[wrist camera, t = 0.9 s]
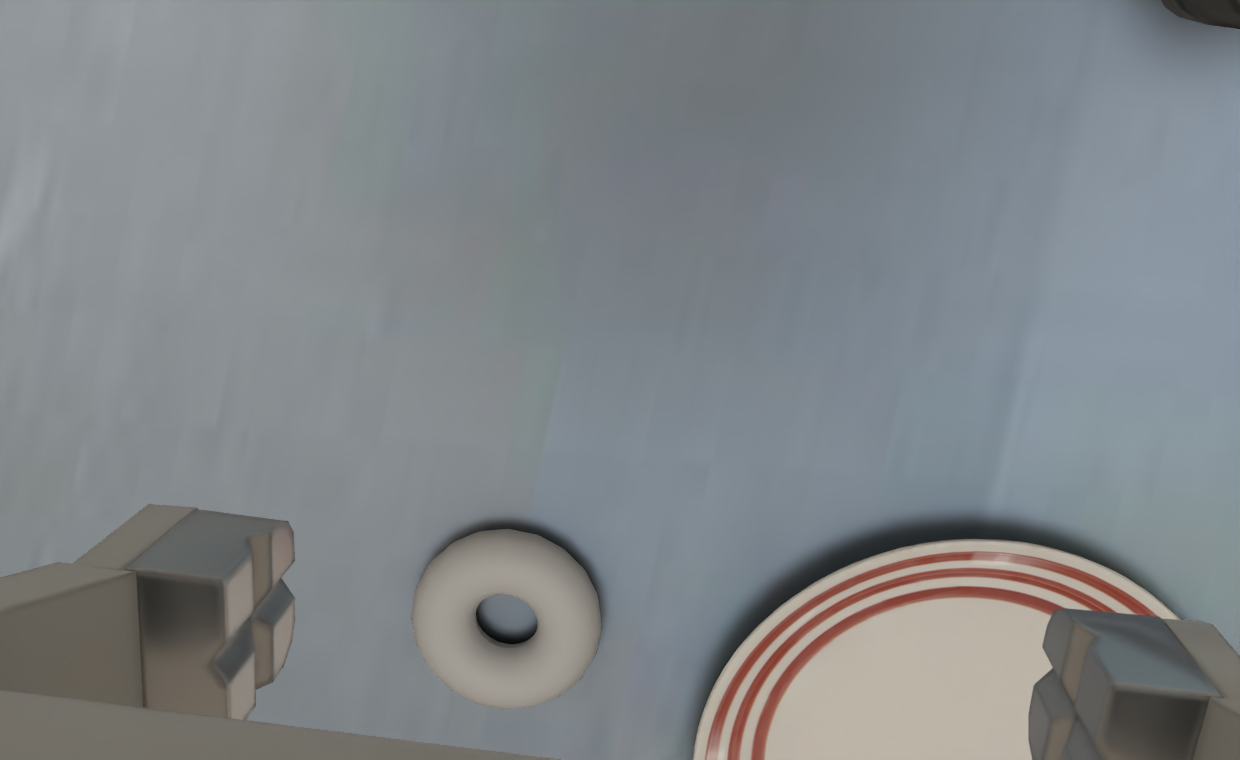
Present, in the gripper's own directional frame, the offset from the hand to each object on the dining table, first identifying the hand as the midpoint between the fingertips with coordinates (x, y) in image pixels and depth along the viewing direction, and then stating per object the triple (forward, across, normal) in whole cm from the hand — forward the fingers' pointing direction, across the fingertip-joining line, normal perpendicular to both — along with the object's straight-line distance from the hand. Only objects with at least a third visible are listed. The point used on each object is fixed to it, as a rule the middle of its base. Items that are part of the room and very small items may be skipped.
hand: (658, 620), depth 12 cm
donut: (+42, +8, +23) cm, 49 cm away
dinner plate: (+42, -16, +29) cm, 53 cm away
